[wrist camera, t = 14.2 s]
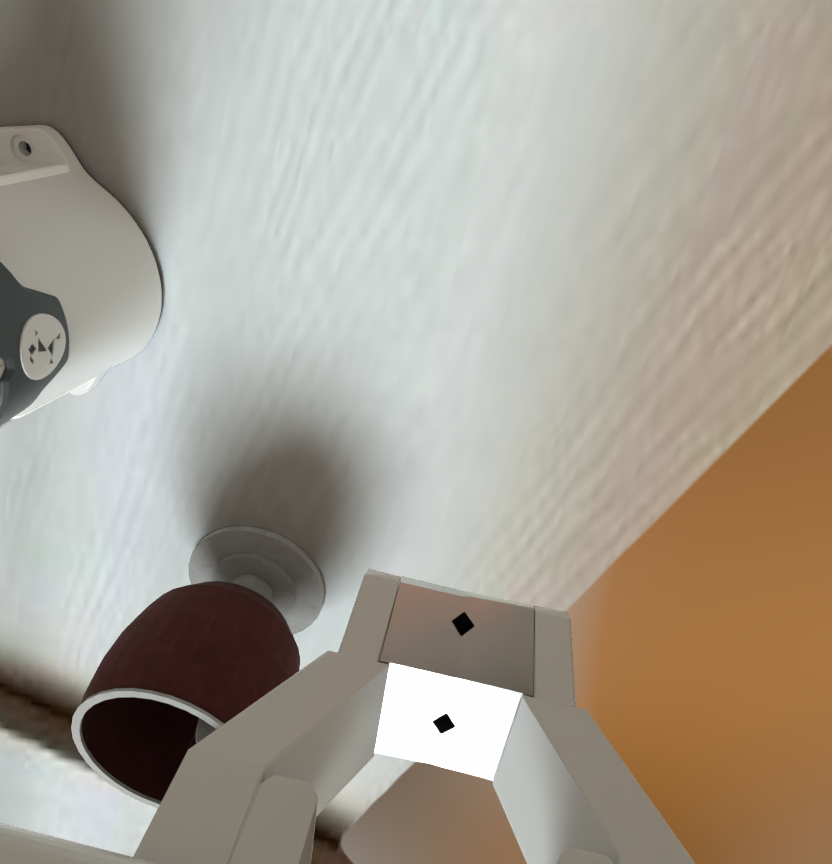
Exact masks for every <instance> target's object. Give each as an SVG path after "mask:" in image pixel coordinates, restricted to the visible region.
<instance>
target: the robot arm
mask: <svg viewBox="0 0 832 864" xmlns="http://www.w3.org/2000/svg"><path fill="white" fill-rule="evenodd" d="M26 142H27V143H28V144H29V145H30V147H31V153H30V152H29V151H28V150H27V148H26ZM161 305H162V291H161V282H160V276H159V272H158V268H157V264H156V261H155V258H154V256H153V253H152V251H151V249H150V246H149V244H148V242H147V240H146V238H145V237H144V235H143V233H142V231H141V230H140V228H139V227H138V225H137V224H136V222H135V221H134V220H133V218H132V217H131V216H130V214H129V213H128V212H127V211H126V210H125V208H124V207H123V206H122V205H121V204H120V203H119V202H118V201H117V200H116V199H115V198H114V197H113V196H112V195H111V194H110V193H108V192H107V191H106V190H105V189H104V188H103V187H101V186H100V185H99V184H98V183H97V182H96V181H94V180H93V179H92V178H91V177H90V176H89V175H88V174H87V173H86V171H85V170H84V169H83V167H82V166H81V164H80V162H79V161H78V159H77V157H76V156H75V154H74V153H73V151H72V150H71V148H70V147H69V145H68V144H67V142H66V141H65V140H64V138H63V137H62V136H61V135H60V134H59V133H58V132H57V131H56V130H55V129H53V128H51V127H49V126H46V125H29V126H9V127H0V428H1V427H2V426H4V425H6V424H7V423H9V422H10V419H15V418H20V417H22V416H25V415H27V414H28V413H30V412H32V411H34V410H36V409H38V408H40V407H42V406H44V405H46V404H48V403H49V402H51V401H53V400H55V399H57V398H59V397H61V396H63V395H64V394H66V393H70V394H73V395H82V394H84V393H86V392H88V391H90V390H92V389H93V388H95V387H96V385H97V384H98V383H99V382H100V380H101V379H102V377H103V376H104V374H105V373H106V371H107V370H108V369H110V368H111V367H113V366H115V365H117V364H120V363H122V362H124V361H126V360H128V359H130V358H132V357H133V356H135V355H136V354H137V353H139V352H140V351H141V350H142V349H143V348H144V347H145V346H146V345H147V343H148V342H149V341H150V339H151V337H152V336H153V334H154V332H155V330H156V327H157V325H158V321H159V318H160V313H161ZM374 752H376V753H380V754H385V755H390V756H395V757H399V758H404V759H409V760H414V761H419V762H423V763H428V764H433V765H437V766H441V767H445V768H448V769H451V770H455V771H459V772H463V773H466V774H470V775H474V776H478V777H481V778H485V779H489V780H493V781H494V782H493V786H494V788H495V790H496V793H497V795H498V797H499V800H500V802H501V804H502V807H503V809H504V811H505V813H506V816H507V818H508V820H509V823H510V825H511V827H512V830H513V832H514V834H515V837H516V839H517V841H518V844H519V846H520V848H521V851H522V853H523V855H524V857H525V860H526V862H527V864H695V862H694V861H693V860H692V858H691V857H690V855H689V854H688V853H687V851H686V850H685V848H684V847H683V846H682V844H681V843H680V841H679V840H678V838H677V837H676V836H675V834H674V833H673V831H672V830H671V829H670V827H669V826H668V824H667V823H666V821H665V820H664V819H663V817H662V816H661V814H660V813H659V812H658V810H657V809H656V807H655V806H654V805H653V803H652V802H651V800H650V799H649V797H648V796H647V795H646V793H645V792H644V791H643V789H642V788H641V786H640V785H639V784H638V782H637V781H636V780H635V778H634V776H633V775H632V774H631V772H630V771H629V769H628V768H627V766H626V765H625V764H624V762H623V761H622V759H621V758H620V757H619V755H618V754H617V752H616V751H615V749H614V748H613V747H612V745H611V744H610V743H609V741H608V740H607V738H606V737H605V735H604V734H603V733H602V731H601V730H600V728H599V727H598V725H597V724H596V723H595V721H594V720H593V718H592V717H591V716H590V714H589V713H588V711H587V710H584V709H580V708H576V702H575V685H574V669H573V652H572V637H571V620H570V617H569V615H568V613H567V612H563V611H558V610H553V609H548V608H543V607H538V606H533V607H532V606H531V605H527V604H522V603H517V602H513V601H508V600H503V599H498V598H494V597H489V596H484V595H480V594H475V593H470V592H464V591H460V590H456V589H452V588H448V587H444V586H440V585H436V584H432V583H427V582H423V581H419V580H415V579H411V578H407V577H403V576H402V578H401V577H399V576H395V575H391V574H387V573H384V572H380V571H376V570H372V569H368V571H367V572H366V574H365V575H364V578H363V581H362V584H361V587H360V590H359V593H358V596H357V599H356V601H355V604H354V607H353V610H352V613H351V616H350V619H349V622H348V625H347V628H346V631H345V634H344V637H343V640H342V643H341V646H340V649H339V652H338V653H337V652H332V651H327V652H325V653H324V654H323V655H321V656H320V657H318V658H317V659H316V660H314V661H313V662H311V663H310V664H308V665H307V666H306V667H304V668H303V669H301V670H300V671H299V672H297V673H296V674H294V675H293V676H292V677H290V678H289V679H287V680H286V681H284V682H283V683H282V684H280V685H279V686H277V687H276V688H275V689H273V690H272V691H270V692H269V693H268V694H266V695H265V696H263V697H262V698H260V699H259V700H258V701H256V702H255V703H253V704H252V705H251V706H249V707H248V708H246V709H245V710H244V711H242V712H241V713H239V714H238V715H236V716H235V717H234V718H232V719H231V720H229V721H228V722H227V723H225V724H224V725H222V726H221V727H220V728H218V729H217V730H215V731H214V732H212V733H211V734H210V735H208V736H207V737H205V738H204V739H203V740H201V741H200V742H198V743H197V744H196V745H194V746H193V747H191V748H190V749H188V751H187V753H186V755H185V757H184V759H183V761H182V763H181V765H180V767H179V769H178V771H177V773H176V775H175V777H174V778H173V780H172V782H171V784H170V786H169V788H168V790H167V792H166V794H165V796H164V798H163V800H162V802H161V804H160V806H159V808H158V810H157V812H156V814H155V815H154V817H153V819H152V821H151V823H150V825H149V827H148V829H147V831H146V833H145V835H144V837H143V839H142V841H141V843H140V845H139V847H138V849H137V850H136V852H135V854H134V856H133V857H130V856H127V855H123V854H119V853H115V852H111V851H107V850H103V849H99V848H95V847H92V846H88V845H84V844H80V843H76V842H72V841H68V840H64V839H61V838H57V837H53V836H49V835H45V834H41V833H37V832H33V831H29V830H26V829H22V828H18V827H14V826H10V825H6V824H2V823H0V864H311V856H312V847H313V838H314V829H315V820H316V816H317V815H318V814H319V813H320V812H321V811H322V810H323V809H324V808H325V807H326V806H327V805H328V804H329V803H330V802H331V801H332V799H333V798H334V797H335V796H336V795H337V794H338V793H339V792H340V791H341V790H342V789H343V788H344V787H345V786H346V785H347V784H348V783H349V782H350V781H351V780H352V778H353V777H354V776H355V775H356V774H357V773H358V772H359V771H360V770H361V769H362V768H363V767H364V766H365V765H366V764H367V763H368V762H369V761H370V760H371V758H372V757H373V756H374Z"/></svg>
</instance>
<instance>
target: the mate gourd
mask: <svg viewBox="0 0 832 864" xmlns="http://www.w3.org/2000/svg"><path fill="white" fill-rule="evenodd" d="M189 577H190V581H191V585H188V586H184V587H180V588H176V589H173V590H171V591H169V592H167V593H165V594H163V595H162V596H161V597H159V598H158V599H157V600H156V601H154V602H153V603H152V604H150V605H149V606H148V607H147V608H146V609H145V610H144V611H143V612H142V613H141V614H140V615H139V616H138V617H137V618H136V619H135V620H134V621H133V622H132V623H131V624H130V625H129V626H128V627H127V628H126V629H125V630H124V631H123V632H122V633H121V635H120V636H119V637H118V639H117V640H116V641H115V643H114V644H113V646H112V647H111V648H110V650H109V651H108V652H107V654H106V655H105V657H104V658H103V660H102V662H101V663H100V665H99V667H98V669H97V671H96V673H95V675H94V677H93V679H92V680H91V682H90V684H89V686H88V688H87V690H86V692H85V694H84V696H83V699H82V702H81V704H80V705H79V707H78V708H77V710H76V712H75V714H74V716H73V719H72V726H71V729H72V735H73V740H74V742H75V744H76V747H77V749H78V751H79V752H80V754H81V755H82V757H83V758H84V760H85V761H86V762H87V764H88V765H89V766H90V767H91V768H92V769H93V770H94V771H95V772H96V773H97V774H98V775H99V776H101V777H102V778H103V779H104V780H106V781H107V782H108V783H109V784H111V785H112V786H114V787H115V788H117V789H118V790H120V791H122V792H123V793H125V794H127V795H129V796H131V797H133V798H135V799H137V800H139V801H141V802H143V803H146V804H148V805H151V806H154V807H156V808H159V806H160V804H161V802H162V800H163V798H164V796H165V794H166V792H167V790H168V788H169V786H170V784H171V782H172V780H173V778H174V777H175V775H176V773H177V771H178V769H179V767H180V765H181V763H182V761H183V759H184V757H185V755H186V753H187V751H188V749H190V748H191V747H193V746H194V745H196V744H197V743H198V742H200V741H201V740H203V739H204V738H205V737H207V736H208V735H210V734H211V733H212V732H214V731H215V730H217V729H218V728H220V727H221V726H222V725H224V724H225V723H227V722H228V721H229V720H231V719H232V718H234V717H235V716H236V715H238V714H239V713H241V712H242V711H244V710H245V709H246V708H248V707H249V706H251V705H252V704H253V703H255V702H256V701H258V700H259V699H260V698H262V697H263V696H265V695H266V694H268V693H269V692H270V691H272V690H273V689H275V688H276V687H277V686H279V685H280V684H282V683H283V682H284V681H286V680H287V679H289V678H290V677H292V676H293V675H294V674H296V673H297V672H299V666H300V656H299V650H298V647H297V644H296V642H295V640H294V637H293V634H296V633H298V632H300V631H303V630H304V629H306V628H307V627H308V626H310V625H311V624H312V623H313V622H314V621H315V619H316V618H317V617H318V615H319V613H320V610H321V608H322V606H323V603H324V596H325V589H324V582H323V579H322V577H321V574H320V572H319V570H318V568H317V567H316V565H315V564H314V562H313V561H312V559H311V558H310V557H309V556H308V555H307V554H306V553H305V552H304V551H303V550H302V549H301V548H299V547H298V546H297V545H296V544H294V543H293V542H291V541H290V540H288V539H286V538H285V537H283V536H281V535H279V534H276V533H274V532H271V531H269V530H266V529H261V528H257V527H252V526H230V527H225V528H222V529H218V530H216V531H214V532H212V533H210V534H208V535H207V536H206V537H205V538H203V539H202V540H201V541H200V542H199V544H198V545H197V546H196V548H195V550H194V551H193V553H192V555H191V558H190V562H189Z"/></svg>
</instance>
